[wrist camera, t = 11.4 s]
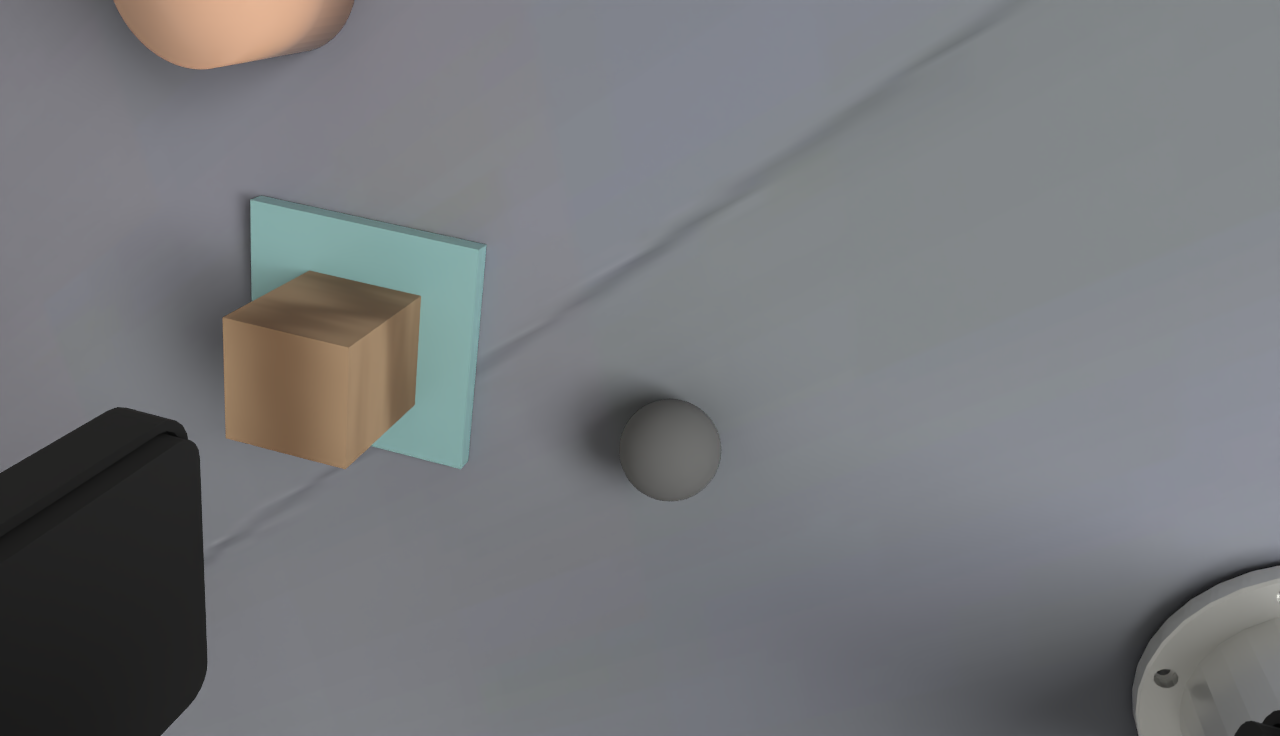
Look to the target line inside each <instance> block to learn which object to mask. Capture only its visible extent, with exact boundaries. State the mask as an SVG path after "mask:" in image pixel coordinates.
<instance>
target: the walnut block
mask: <svg viewBox="0 0 1280 736" xmlns="http://www.w3.org/2000/svg"><path fill="white" fill-rule="evenodd" d="M420 307H421V296H420V295H415V294H411V293H406V292H402V291H398V290H393V289H389V288H384V287H380V286H376V285H371V284H367V283H362V282H358V281H354V280H349V279H345V278H341V277H336V276H332V275H327V274H323V273H319V272H314V271H310V270H309V271H307V272H306V273H304V274H302V275H300V276H298V277H296V278H294V279H293V280H291V281H289V282H287V283H285V284H283V285H282V286H280V287H278V288H276V289H274V290H272V291H270V292H269V293H267V294H265V295H263V296H261V297H259V298H258V299H256V300H254V301H252V302H250V303H248V304H246V305H245V306H243V307H241V308H239V309H237V310H235V311H233V312H232V313H230V314H228V315H226V316H224V317H223V352H224V389H225V427H226V438H228V439H231V440H235V441H239V442H243V443H247V444H251V445H254V446H258V447H262V448H266V449H270V450H274V451H277V452H281V453H285V454H289V455H293V456H297V457H300V458H304V459H308V460H312V461H316V462H320V463H324V464H327V465H331V466H335V467H339V468H343V469H346V468H347V467H348V466H349V465H351V464H352V463H353V462H354V461H355V460H356V459H357V458H358V457H359V456H360V455H361V454H362V453H364V452H365V451H366V450H367V449H368V448H369V447H370V446H371V445H372V444H373V443H374V442H375V441H376V440H378V439H379V438H380V437H381V436H382V435H383V434H384V433H385V432H386V431H387V430H388V429H389V428H391V427H392V426H393V425H394V424H395V423H396V422H397V421H398V420H399V419H400V418H401V417H402V416H403V415H405V414H406V413H407V412H408V411H409V410H410V409H411V408H412V407H413V406H414V405H415V394H416V376H417V359H418V342H419V324H420Z"/></svg>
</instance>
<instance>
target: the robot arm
mask: <svg viewBox="0 0 1280 736" xmlns="http://www.w3.org/2000/svg"><path fill="white" fill-rule="evenodd" d="M206 671H207V639H206V612H205V585H204V558H203V531H202V504H201V477H200V456H199V450H198V448H197V446H196V444H195V443H193V442H192V441H190V440H188V437H187V433H186V431H185V429H184V427H183V425H181V424H180V423H178V422H177V421H175V420H171V419H167V418H163V417H159V416H156V415H152V414H148V413H144V412H140V411H136V410H133V409H129V408H121V407H117V408H114V409H111V410H109V411H107V412H105V413H103V414H101V415H100V416H98V417H96V418H94V419H93V420H91V421H89V422H88V423H86V424H84V425H82V426H81V427H79V428H77V429H76V430H74V431H72V432H70V433H69V434H67V435H65V436H63V437H62V438H60V439H58V440H57V441H55V442H53V443H51V444H50V445H48V446H46V447H45V448H43V449H41V450H39V451H38V452H36V453H34V454H32V455H31V456H29V457H27V458H26V459H24V460H22V461H20V462H19V463H17V464H15V465H13V466H12V467H10V468H8V469H7V470H5V471H3V472H1V473H0V736H161V735H162V734H163V732H164V731H165V730H166V729H167V728H168V727H169V726H170V725H171V724H172V723H173V722H174V721H175V720H176V719H177V718H178V717H179V716H180V715H181V714H182V712H183V711H184V710H185V709H186V708H187V707H188V706H189V705H190V704H191V703H192V701H193V700H194V699H195V698H196V696H197V694H198V692H199V691H200V689H201V686H202V684H203V682H204V679H205V675H206ZM1132 704H1133V716H1134V719H1135V723H1136V728H1137V732H1138V736H1280V566H1275V567H1270V568H1266V569H1261V570H1256V571H1252V572H1249V573H1246V574H1244V575H1241V576H1238V577H1235V578H1233V579H1230V580H1227V581H1225V582H1222V583H1219V584H1218V585H1216V586H1214V587H1212V588H1210V589H1209V590H1207V591H1205V592H1203V593H1202V594H1200V595H1198V596H1196V597H1195V598H1193V599H1191V600H1190V601H1189V602H1187V603H1186V604H1185V605H1184V606H1183V607H1181V608H1180V609H1179V610H1178V611H1176V612H1175V613H1174V614H1173V615H1172V616H1170V617H1169V618H1168V619H1167V620H1166V621H1165V623H1164V624H1163V625H1162V626H1161V627H1160V629H1159V630H1158V631H1157V632H1156V634H1155V635H1154V636H1153V637H1152V638H1151V640H1150V641H1149V643H1148V645H1147V647H1146V649H1145V651H1144V653H1143V655H1142V657H1141V659H1140V661H1139V663H1138V665H1137V669H1136V674H1135V678H1134V683H1133V687H1132Z"/></svg>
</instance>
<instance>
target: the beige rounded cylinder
mask: <svg viewBox="0 0 1280 736" xmlns="http://www.w3.org/2000/svg"><path fill="white" fill-rule="evenodd" d="M114 2H115V5H116V7H117V9H118V11H119V13H120V15H121V16H122V18H123V20H124V21H125V23H126V24H127V26H128V27H129V28H130V30H131V31H132V32H133V33H134V35H135V36H136V37H137V38H138V39H139V40H140V41H141V42H142V43H143V44H144V45H145V46H146V47H147V48H148V49H150V50H151V51H152V52H154V53H155V54H156V55H158V56H159V57H161V58H163V59H165V60H166V61H168V62H171V63H173V64H176V65H178V66H182V67H186V68H191V69H211V68H217V67H222V66H228V65H234V64H239V63H245V62H250V61H256V60H262V59H267V58H273V57H279V56H284V55H290V54H295V53H301V52H306V51H311V50H314V49H317V48H319V47H321V46H323V45H325V44H326V43H328V42H329V41H330V40H332V39H333V38H334V37H335V36H336V35H337V34H338V33H339V32H340V30H341V29H342V28H343V26H344V25H345V23H346V21H347V19H348V17H349V15H350V13H351V10H352V7H353V4H354V0H114Z"/></svg>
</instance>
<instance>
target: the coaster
mask: <svg viewBox="0 0 1280 736" xmlns="http://www.w3.org/2000/svg"><path fill="white" fill-rule="evenodd" d="M250 216H251V294H252V301H254V300H256V299H258V298H259V297H261V296H263V295H265V294H267V293H269V292H270V291H272V290H274V289H276V288H278V287H280V286H282V285H283V284H285V283H287V282H289V281H291V280H293V279H294V278H296V277H298V276H300V275H302V274H304V273H306V272H307V271H309V270H310V271H314V272H319V273H323V274H327V275H332V276H336V277H341V278H345V279H349V280H354V281H358V282H362V283H367V284H371V285H376V286H380V287H384V288H389V289H393V290H398V291H402V292H406V293H411V294H415V295H420V296H421V307H420V324H419V342H418V359H417V376H416V394H415V405H414V406H413V407H412V408H411V409H410V410H409V411H408V412H407V413H406V414H405V415H403V416H402V417H401V418H400V419H399V420H398V421H397V422H396V423H395V424H394V425H393V426H392V427H391V428H389V429H388V430H387V431H386V432H385V433H384V434H383V435H382V436H381V437H380V438H379V439H378V440H376V441H375V442H374V443H373V444H372V445H371V446H373V447H377V448H381V449H385V450H389V451H392V452H396V453H400V454H404V455H408V456H412V457H416V458H420V459H424V460H427V461H431V462H435V463H439V464H443V465H447V466H451V467H455V468H459V469H462V467H463V466H464V465H465V464H466V463H467V462H468V457H469V445H470V434H471V422H472V410H473V398H474V386H475V375H476V363H477V351H478V339H479V328H480V316H481V304H482V292H483V281H484V269H485V257H486V244H481V243H477V242H472V241H467V240H463V239H458V238H454V237H449V236H445V235H440V234H435V233H431V232H426V231H422V230H417V229H412V228H408V227H403V226H399V225H394V224H390V223H385V222H380V221H376V220H371V219H367V218H362V217H357V216H353V215H348V214H344V213H339V212H334V211H330V210H325V209H321V208H316V207H312V206H307V205H302V204H298V203H293V202H289V201H284V200H279V199H275V198H270V197H266V196H259V197H256V198H254V199H251V200H250Z"/></svg>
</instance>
